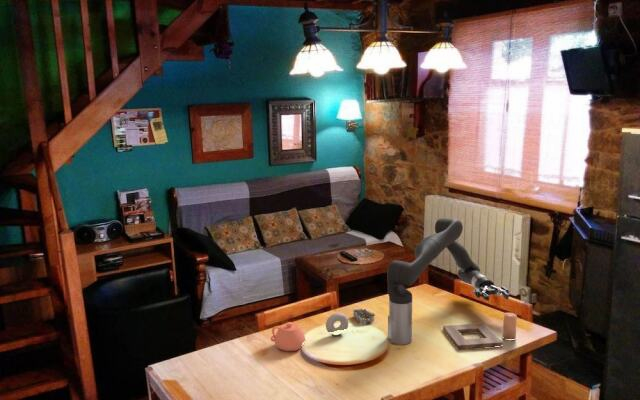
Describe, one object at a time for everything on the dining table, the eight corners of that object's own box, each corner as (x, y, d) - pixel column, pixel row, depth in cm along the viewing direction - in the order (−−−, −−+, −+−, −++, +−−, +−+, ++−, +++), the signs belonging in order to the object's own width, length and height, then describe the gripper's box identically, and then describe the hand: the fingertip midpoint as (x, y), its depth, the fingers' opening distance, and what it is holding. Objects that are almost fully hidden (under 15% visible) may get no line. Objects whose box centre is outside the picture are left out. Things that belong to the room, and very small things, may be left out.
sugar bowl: (301, 355, 204) (300, 330, 202) (266, 352, 207) (265, 328, 205) (308, 340, 216) (307, 317, 214) (275, 338, 218) (274, 315, 217)
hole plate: (458, 350, 205) (458, 345, 204) (443, 330, 222) (443, 325, 222) (502, 346, 207) (502, 342, 206) (483, 327, 224) (484, 323, 224)
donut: (327, 339, 217) (327, 316, 215) (324, 335, 220) (324, 313, 218) (349, 335, 220) (349, 312, 218) (346, 331, 223) (346, 309, 221)
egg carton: (375, 323, 231) (375, 314, 230) (359, 326, 229) (359, 317, 228) (366, 314, 241) (366, 305, 240) (351, 316, 239) (351, 308, 238)
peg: (505, 341, 211) (507, 318, 209) (500, 335, 216) (501, 312, 214) (517, 340, 212) (519, 317, 210) (512, 334, 217) (513, 312, 215)
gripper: (467, 277, 238) (482, 290, 222) (497, 275, 239) (514, 288, 223) (467, 293, 239) (481, 307, 223) (497, 290, 241) (513, 304, 225)
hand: (498, 297), depth 223 cm, fingers open, 8 cm apart
